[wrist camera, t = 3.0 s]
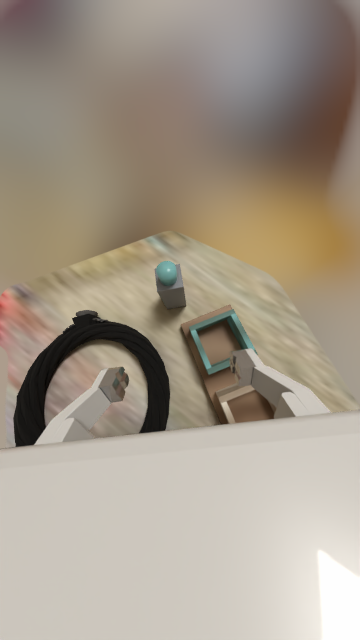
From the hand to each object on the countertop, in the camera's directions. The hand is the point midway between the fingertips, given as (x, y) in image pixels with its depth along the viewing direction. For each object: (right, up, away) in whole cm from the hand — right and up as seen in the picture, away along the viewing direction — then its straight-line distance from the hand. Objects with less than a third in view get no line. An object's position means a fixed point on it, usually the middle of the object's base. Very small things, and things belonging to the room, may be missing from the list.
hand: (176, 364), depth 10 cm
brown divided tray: (+9, -6, +14) cm, 17 cm away
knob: (-1, +8, +18) cm, 20 cm away
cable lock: (-15, -10, +16) cm, 24 cm away
